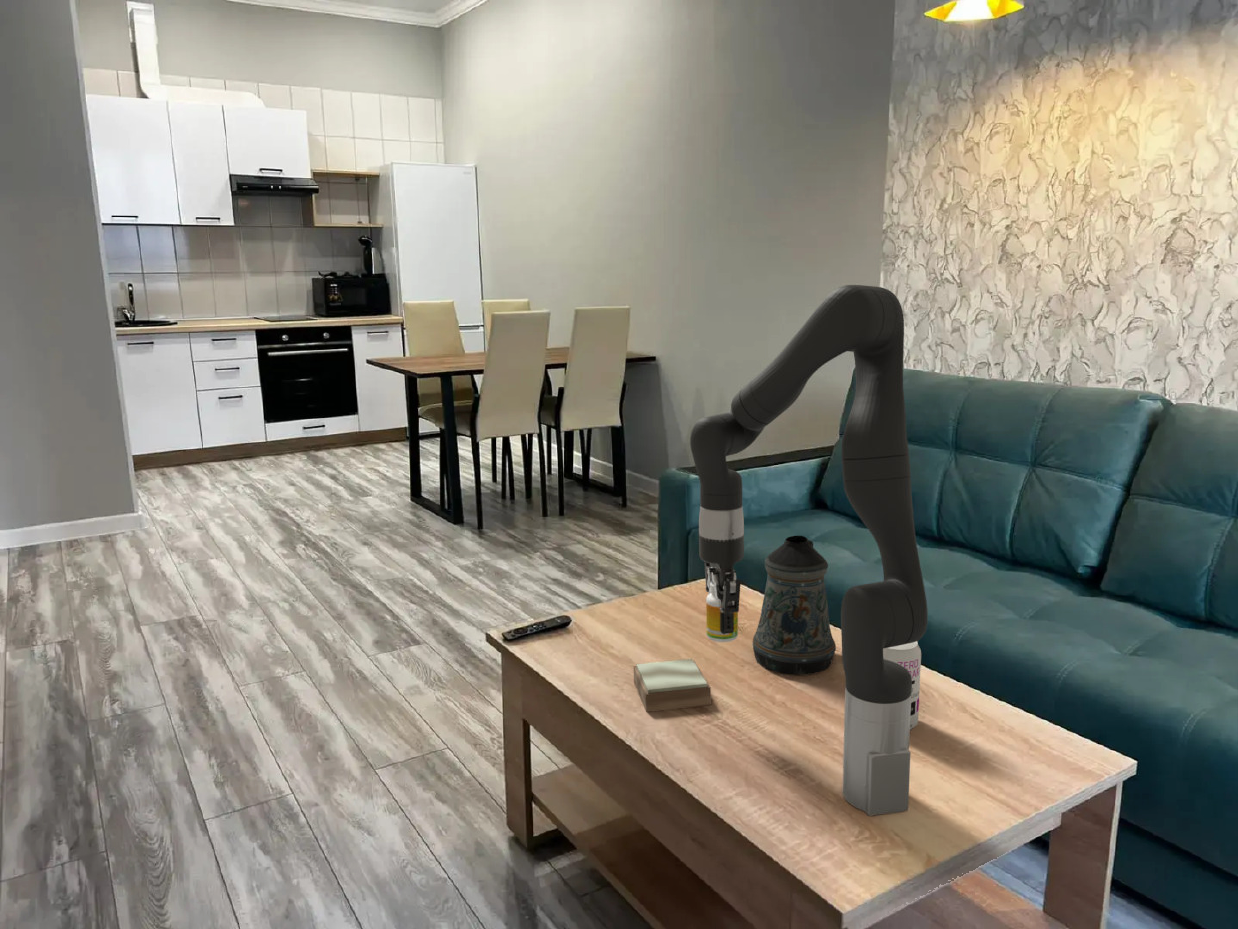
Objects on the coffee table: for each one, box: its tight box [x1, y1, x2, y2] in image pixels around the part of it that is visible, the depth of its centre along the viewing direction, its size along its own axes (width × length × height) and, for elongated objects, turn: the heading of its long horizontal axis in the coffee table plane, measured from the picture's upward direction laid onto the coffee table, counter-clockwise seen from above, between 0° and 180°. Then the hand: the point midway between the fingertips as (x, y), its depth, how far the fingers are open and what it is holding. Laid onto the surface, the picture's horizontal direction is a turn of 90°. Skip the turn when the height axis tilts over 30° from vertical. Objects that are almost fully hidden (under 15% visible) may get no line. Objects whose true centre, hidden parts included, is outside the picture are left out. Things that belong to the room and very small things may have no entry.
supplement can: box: [883, 641, 922, 731], centre depth 151 cm, size 8×8×15 cm
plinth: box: [633, 658, 712, 713], centre depth 165 cm, size 12×12×4 cm
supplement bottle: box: [705, 582, 739, 643], centre depth 151 cm, size 5×5×10 cm
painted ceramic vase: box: [752, 535, 837, 677], centre depth 177 cm, size 16×19×25 cm
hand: (721, 625), depth 151 cm, fingers closed on supplement bottle, 5 cm apart
